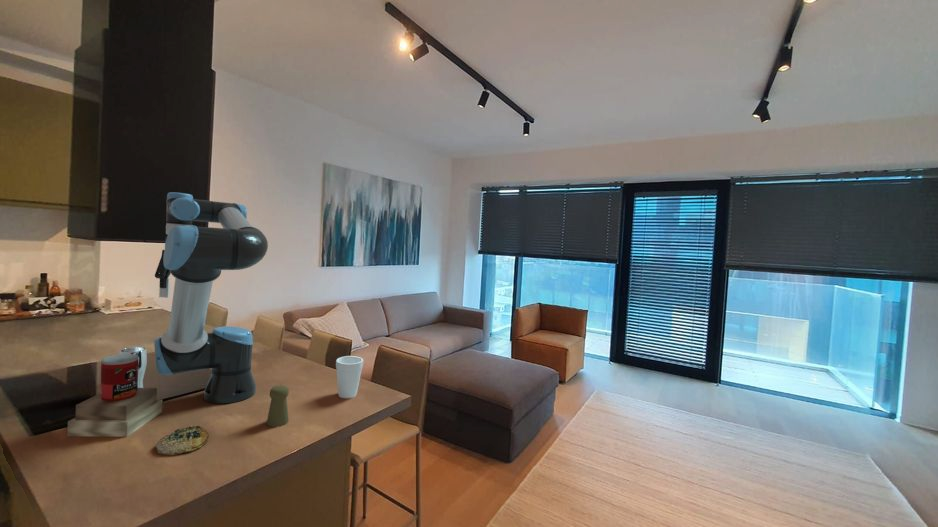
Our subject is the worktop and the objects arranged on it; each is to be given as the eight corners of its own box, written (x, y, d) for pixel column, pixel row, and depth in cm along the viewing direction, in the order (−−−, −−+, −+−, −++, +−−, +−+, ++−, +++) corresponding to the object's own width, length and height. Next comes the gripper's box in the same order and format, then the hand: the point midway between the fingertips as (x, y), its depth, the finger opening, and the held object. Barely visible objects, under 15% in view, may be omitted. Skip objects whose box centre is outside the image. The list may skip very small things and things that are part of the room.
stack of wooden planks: (162, 412, 114) (163, 386, 114) (127, 436, 100) (127, 407, 100) (110, 411, 112) (111, 385, 112) (67, 436, 98) (68, 406, 98)
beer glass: (117, 399, 120) (118, 353, 119) (118, 392, 125) (119, 347, 124) (145, 395, 124) (147, 351, 123) (145, 387, 129) (147, 345, 129)
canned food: (115, 403, 101) (116, 364, 101) (92, 399, 103) (93, 359, 102) (144, 393, 109) (146, 356, 108) (123, 388, 110) (124, 352, 110)
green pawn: (293, 420, 116) (295, 385, 115) (277, 428, 110) (279, 392, 110) (278, 415, 118) (279, 381, 117) (261, 423, 112) (263, 388, 112)
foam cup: (364, 391, 142) (367, 357, 141) (354, 401, 132) (357, 365, 132) (340, 388, 142) (343, 354, 142) (329, 398, 133) (331, 362, 133)
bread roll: (202, 428, 107) (202, 413, 106) (214, 450, 100) (215, 433, 99) (151, 444, 99) (151, 427, 98) (161, 469, 92) (161, 451, 91)
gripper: (188, 235, 147) (186, 288, 148) (142, 235, 122) (140, 299, 123) (209, 236, 148) (206, 290, 149) (167, 236, 123) (165, 300, 124)
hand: (176, 294), depth 136 cm, fingers open, 13 cm apart
